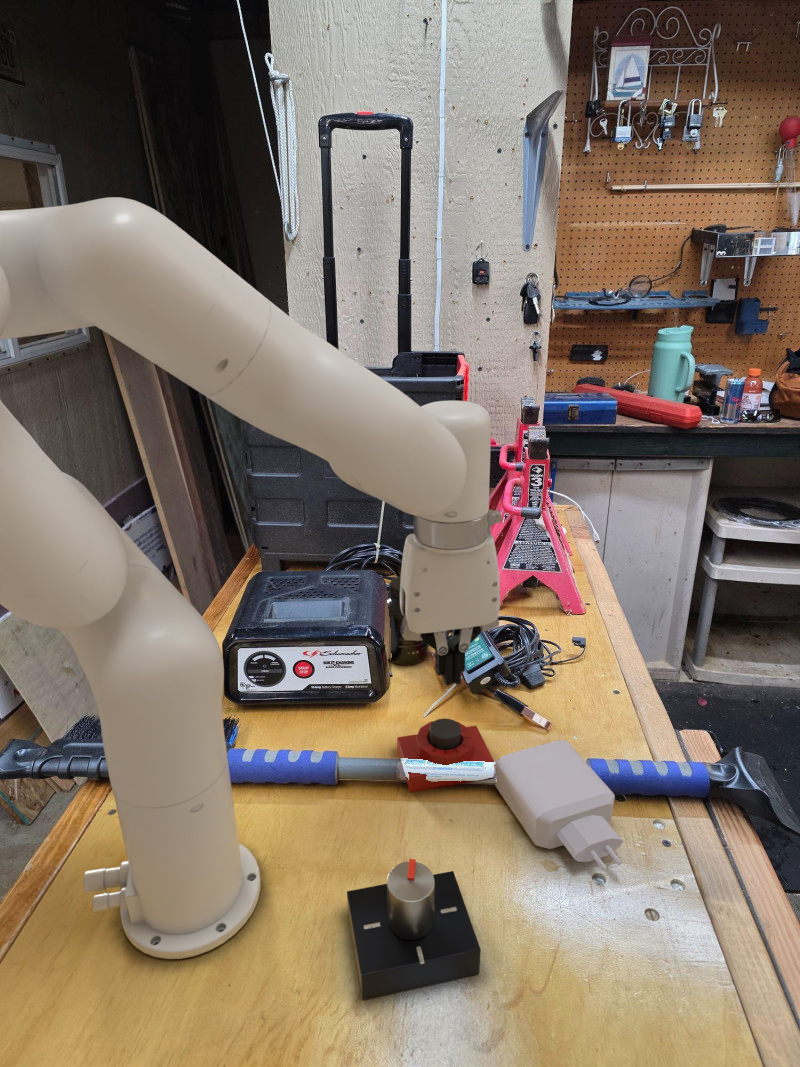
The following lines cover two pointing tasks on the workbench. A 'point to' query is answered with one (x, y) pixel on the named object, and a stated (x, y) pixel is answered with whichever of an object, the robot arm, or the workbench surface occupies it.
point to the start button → (445, 734)
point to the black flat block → (411, 942)
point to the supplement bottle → (400, 648)
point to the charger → (560, 801)
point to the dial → (410, 900)
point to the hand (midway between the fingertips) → (449, 677)
